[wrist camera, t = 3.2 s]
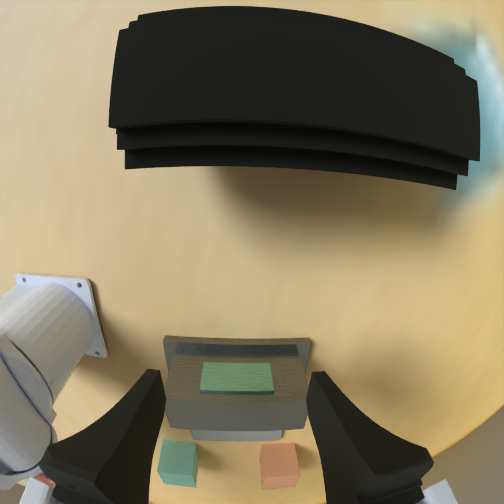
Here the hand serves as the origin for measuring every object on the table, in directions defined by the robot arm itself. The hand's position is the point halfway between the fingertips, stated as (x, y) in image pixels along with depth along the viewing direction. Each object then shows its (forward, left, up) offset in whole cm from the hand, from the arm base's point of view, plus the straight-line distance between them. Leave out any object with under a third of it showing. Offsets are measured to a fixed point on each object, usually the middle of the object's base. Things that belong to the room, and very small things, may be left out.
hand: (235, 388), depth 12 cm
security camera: (+4, +13, -10) cm, 17 cm away
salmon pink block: (+5, -23, -10) cm, 25 cm away
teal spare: (-7, -23, -10) cm, 26 cm away
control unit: (0, -6, -9) cm, 11 cm away
